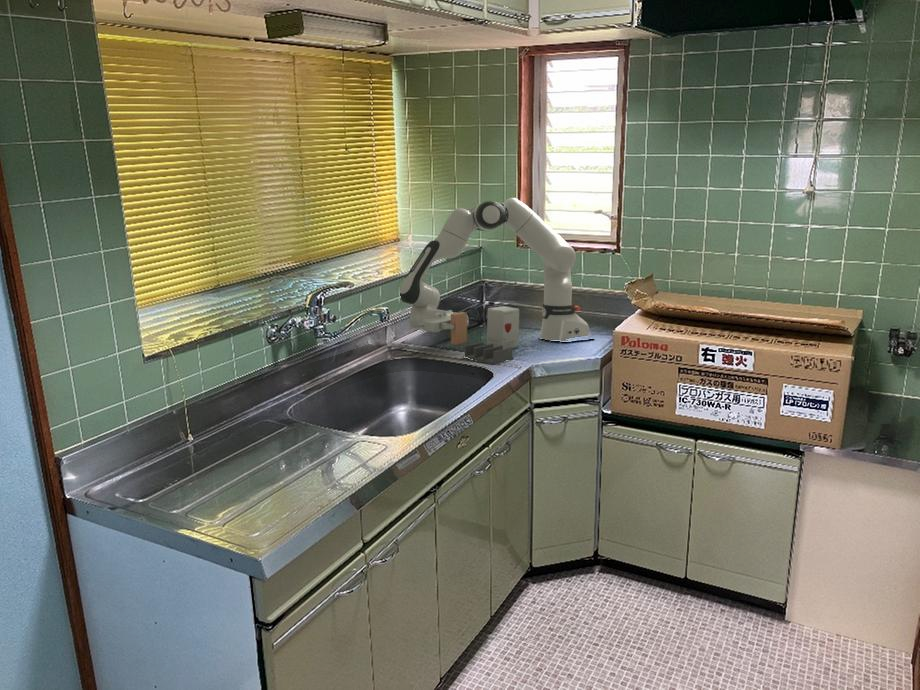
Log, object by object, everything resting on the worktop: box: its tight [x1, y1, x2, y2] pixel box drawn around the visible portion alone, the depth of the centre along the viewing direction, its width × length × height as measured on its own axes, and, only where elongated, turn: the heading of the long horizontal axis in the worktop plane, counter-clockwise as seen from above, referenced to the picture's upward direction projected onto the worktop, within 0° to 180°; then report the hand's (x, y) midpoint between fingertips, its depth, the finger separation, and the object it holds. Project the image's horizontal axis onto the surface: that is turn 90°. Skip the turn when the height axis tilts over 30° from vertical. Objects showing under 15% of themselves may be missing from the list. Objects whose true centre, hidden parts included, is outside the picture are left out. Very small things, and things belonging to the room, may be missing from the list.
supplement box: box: [486, 306, 520, 349], centre depth 283 cm, size 9×9×15 cm
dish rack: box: [463, 341, 514, 366], centre depth 264 cm, size 11×14×4 cm
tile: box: [450, 311, 468, 345], centre depth 272 cm, size 6×2×11 cm, turn 137°
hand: (460, 325), depth 271 cm, fingers closed on tile, 6 cm apart
